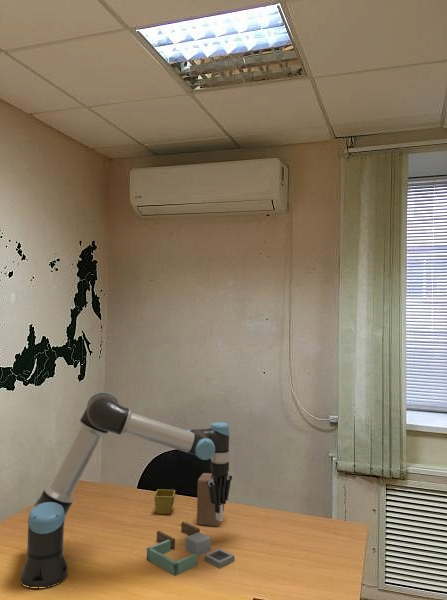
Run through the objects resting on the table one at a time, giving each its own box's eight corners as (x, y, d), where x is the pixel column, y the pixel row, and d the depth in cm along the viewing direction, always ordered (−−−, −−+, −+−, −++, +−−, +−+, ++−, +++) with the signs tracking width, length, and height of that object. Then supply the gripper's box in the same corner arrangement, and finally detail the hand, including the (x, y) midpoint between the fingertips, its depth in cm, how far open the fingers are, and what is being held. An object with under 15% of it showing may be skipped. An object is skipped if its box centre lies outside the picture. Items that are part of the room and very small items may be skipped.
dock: (175, 575, 170) (175, 564, 170) (146, 559, 181) (147, 548, 181) (197, 565, 177) (197, 554, 178) (168, 549, 189) (168, 539, 189)
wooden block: (218, 527, 210) (219, 480, 211) (196, 525, 212) (197, 478, 213) (223, 518, 220) (224, 473, 221) (201, 516, 222) (202, 472, 223)
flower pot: (172, 516, 221) (173, 496, 221) (153, 516, 221) (154, 496, 222) (175, 509, 230) (175, 489, 230) (156, 508, 230) (157, 489, 230)
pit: (219, 568, 175) (219, 562, 176) (204, 560, 181) (204, 555, 181) (234, 560, 181) (234, 555, 181) (219, 553, 187) (219, 548, 187)
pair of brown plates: (172, 550, 189) (172, 539, 189) (156, 541, 196) (156, 531, 196) (199, 538, 199) (199, 528, 199) (183, 531, 206) (183, 521, 206)
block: (197, 556, 184) (197, 543, 185) (185, 550, 189) (185, 537, 190) (210, 550, 189) (210, 537, 189) (198, 544, 194) (199, 531, 194)
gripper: (224, 456, 206) (223, 512, 205) (202, 462, 196) (201, 521, 195) (237, 460, 200) (236, 518, 199) (215, 466, 191) (214, 527, 190)
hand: (219, 519), depth 197 cm, fingers closed
